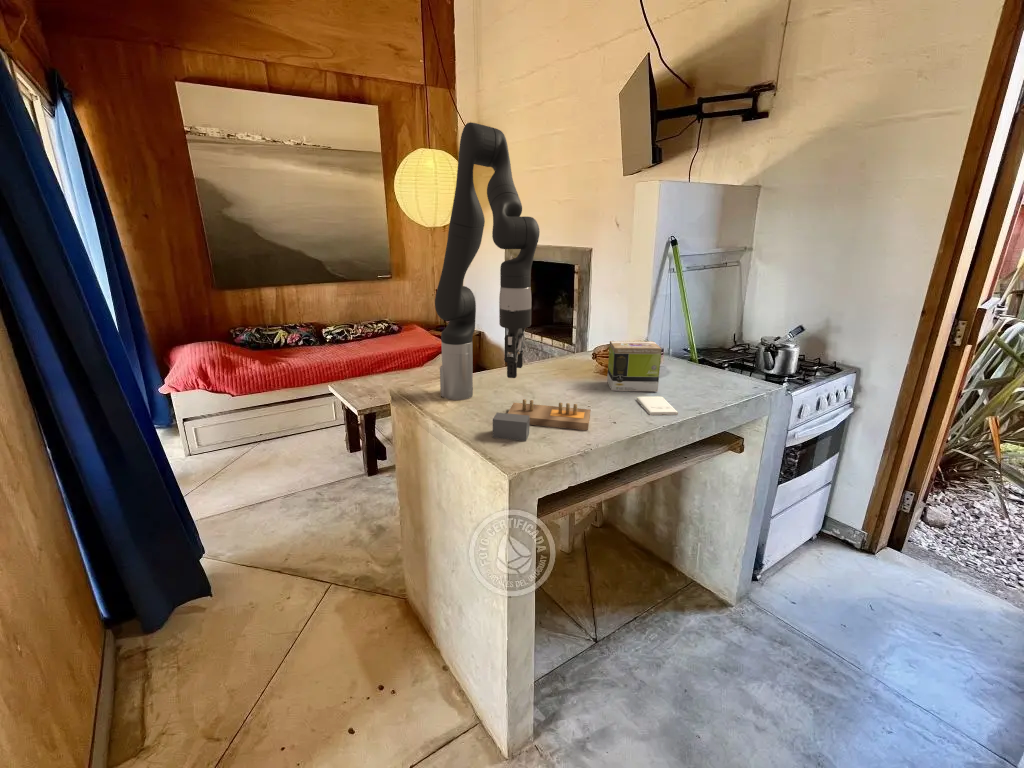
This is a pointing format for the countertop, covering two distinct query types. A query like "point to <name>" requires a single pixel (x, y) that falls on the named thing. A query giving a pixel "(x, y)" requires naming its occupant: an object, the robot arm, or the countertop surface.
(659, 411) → the external hard drive
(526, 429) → the block
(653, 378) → the tea box
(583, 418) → the board
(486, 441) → the countertop surface
